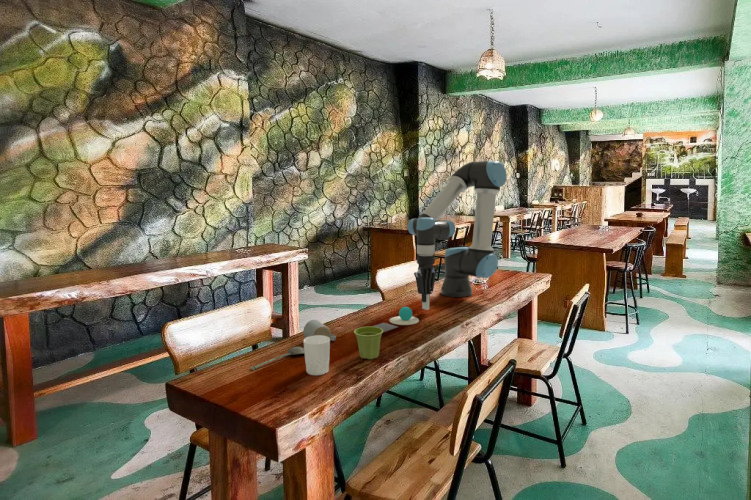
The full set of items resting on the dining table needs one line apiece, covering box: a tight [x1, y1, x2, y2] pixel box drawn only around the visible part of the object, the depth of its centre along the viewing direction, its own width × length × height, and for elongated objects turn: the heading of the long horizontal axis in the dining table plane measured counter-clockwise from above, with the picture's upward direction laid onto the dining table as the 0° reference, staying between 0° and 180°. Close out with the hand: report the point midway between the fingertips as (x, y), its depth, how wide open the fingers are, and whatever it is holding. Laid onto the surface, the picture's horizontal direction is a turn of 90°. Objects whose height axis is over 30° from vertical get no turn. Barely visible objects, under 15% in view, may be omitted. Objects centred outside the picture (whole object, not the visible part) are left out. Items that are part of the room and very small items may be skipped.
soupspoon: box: [251, 346, 304, 371], centre depth 154 cm, size 22×3×7 cm
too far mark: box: [371, 322, 399, 333], centre depth 185 cm, size 8×8×1 cm
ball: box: [398, 306, 413, 320], centre depth 194 cm, size 6×6×6 cm
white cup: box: [302, 335, 331, 376], centre depth 144 cm, size 8×8×10 cm
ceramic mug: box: [302, 319, 337, 342], centre depth 169 cm, size 11×8×8 cm
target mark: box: [388, 315, 420, 326], centre depth 193 cm, size 12×12×1 cm
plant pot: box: [353, 326, 384, 360], centre depth 155 cm, size 9×9×9 cm
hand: (425, 308), depth 203 cm, fingers closed
